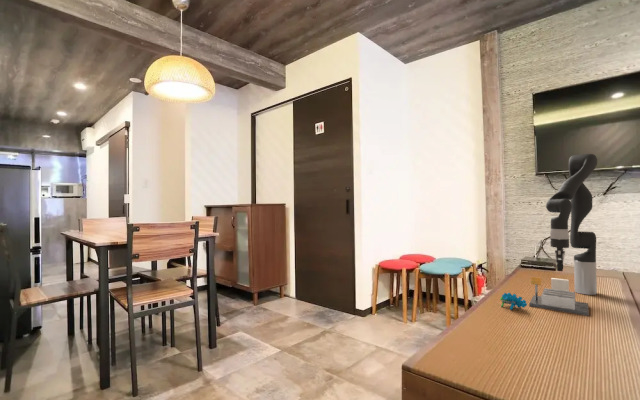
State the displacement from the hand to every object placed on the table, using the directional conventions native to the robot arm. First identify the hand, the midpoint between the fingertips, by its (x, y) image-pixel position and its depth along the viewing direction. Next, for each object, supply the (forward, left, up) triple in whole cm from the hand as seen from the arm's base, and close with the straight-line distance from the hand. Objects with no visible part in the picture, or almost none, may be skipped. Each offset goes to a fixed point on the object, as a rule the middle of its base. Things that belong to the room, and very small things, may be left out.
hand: (560, 269), depth 159 cm
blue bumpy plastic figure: (+32, -16, -15) cm, 39 cm away
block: (0, 0, -15) cm, 15 cm away
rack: (+15, 0, -15) cm, 21 cm away
